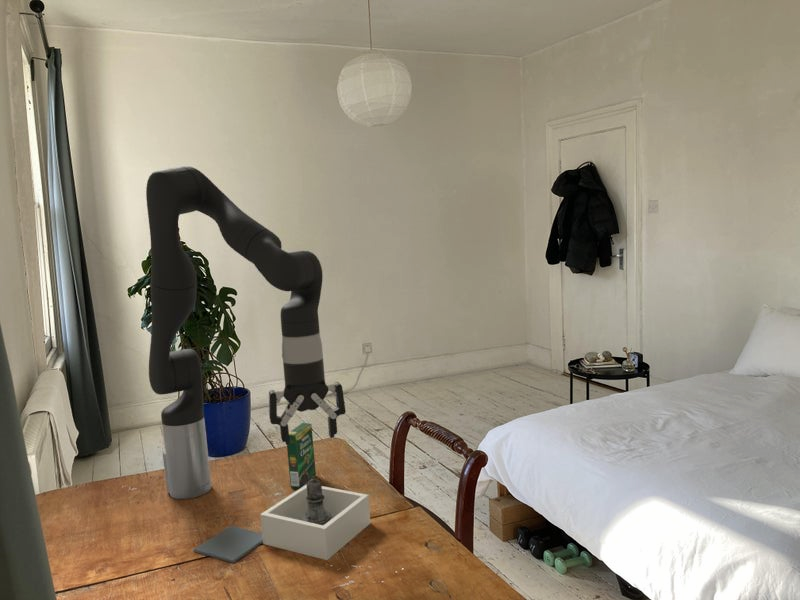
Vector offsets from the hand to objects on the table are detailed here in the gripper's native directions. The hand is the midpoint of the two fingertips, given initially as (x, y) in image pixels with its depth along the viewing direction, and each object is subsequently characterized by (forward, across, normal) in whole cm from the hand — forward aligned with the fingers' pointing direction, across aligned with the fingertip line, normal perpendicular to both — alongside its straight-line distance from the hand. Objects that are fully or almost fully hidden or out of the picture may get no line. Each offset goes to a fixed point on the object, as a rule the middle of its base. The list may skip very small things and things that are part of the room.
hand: (309, 440), depth 124 cm
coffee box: (+19, +1, +26) cm, 33 cm away
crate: (+19, 0, 0) cm, 19 cm away
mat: (+19, -16, +2) cm, 25 cm away
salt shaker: (+19, 0, 0) cm, 19 cm away
